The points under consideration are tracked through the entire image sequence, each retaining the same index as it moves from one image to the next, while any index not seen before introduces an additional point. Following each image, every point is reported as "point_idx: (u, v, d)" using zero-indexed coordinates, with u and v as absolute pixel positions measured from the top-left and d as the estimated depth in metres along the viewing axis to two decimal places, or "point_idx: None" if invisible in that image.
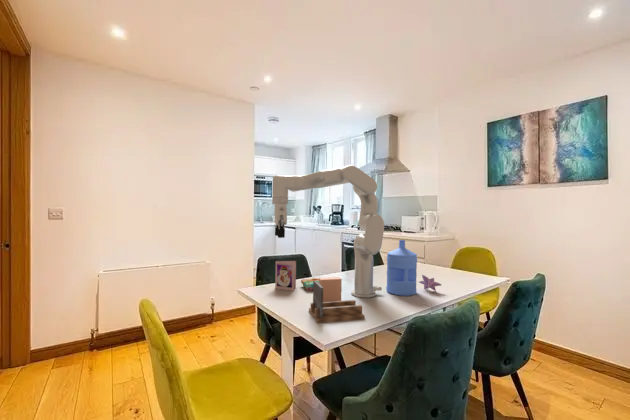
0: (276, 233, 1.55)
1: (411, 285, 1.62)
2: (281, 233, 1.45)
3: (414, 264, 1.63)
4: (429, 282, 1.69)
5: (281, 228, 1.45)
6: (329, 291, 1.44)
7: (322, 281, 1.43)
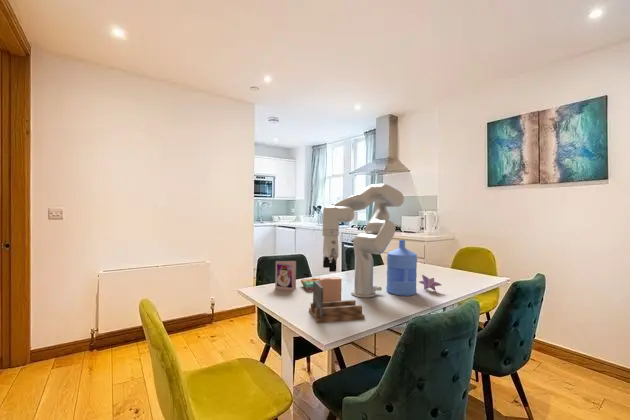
0: (324, 265, 1.50)
1: (411, 285, 1.62)
2: (333, 267, 1.40)
3: (414, 264, 1.63)
4: (429, 282, 1.69)
5: (333, 262, 1.40)
6: (329, 291, 1.44)
7: (322, 281, 1.43)
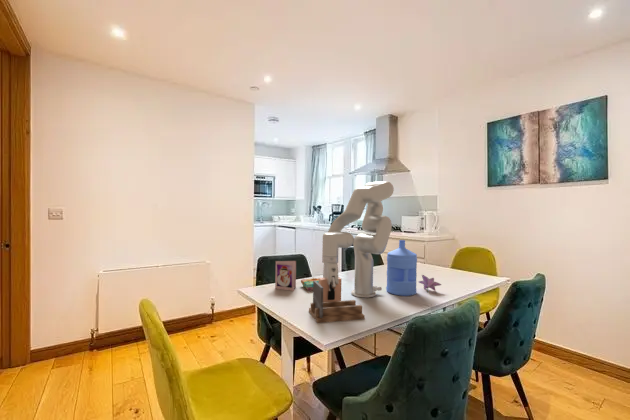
0: None
1: (411, 285, 1.62)
2: (331, 295, 1.43)
3: (414, 264, 1.63)
4: (429, 282, 1.70)
5: (332, 291, 1.43)
6: None
7: (322, 281, 1.43)
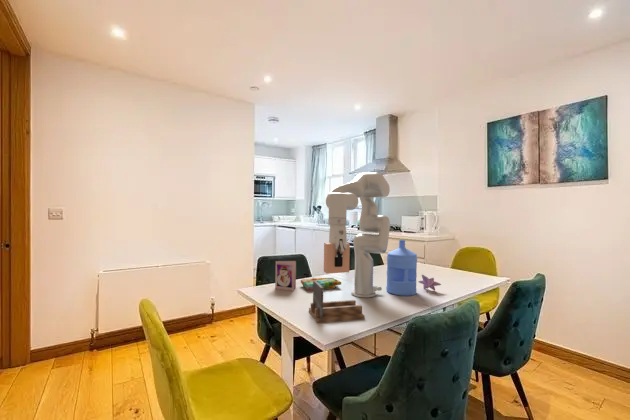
0: None
1: (411, 285, 1.62)
2: (339, 262, 1.28)
3: (414, 264, 1.63)
4: (429, 282, 1.70)
5: (339, 256, 1.28)
6: None
7: (328, 245, 1.28)
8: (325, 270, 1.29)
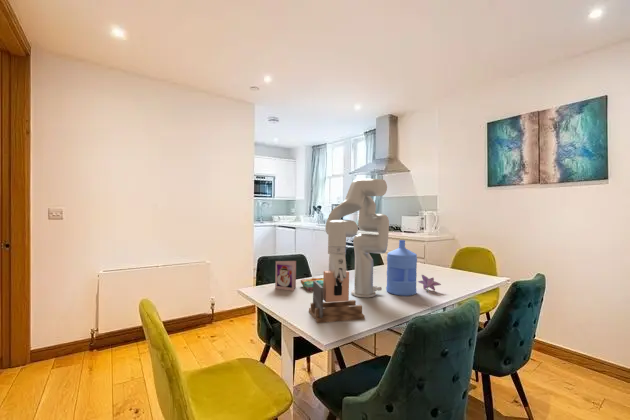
0: None
1: (411, 285, 1.62)
2: (338, 290, 1.28)
3: (414, 264, 1.63)
4: (428, 282, 1.70)
5: (338, 285, 1.28)
6: None
7: (327, 274, 1.28)
8: (324, 298, 1.29)
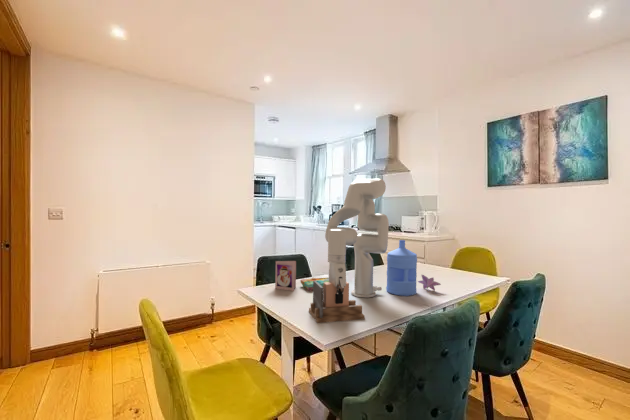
0: None
1: (411, 285, 1.62)
2: (339, 299, 1.27)
3: (414, 264, 1.63)
4: (428, 282, 1.70)
5: (340, 293, 1.26)
6: None
7: (327, 286, 1.29)
8: None
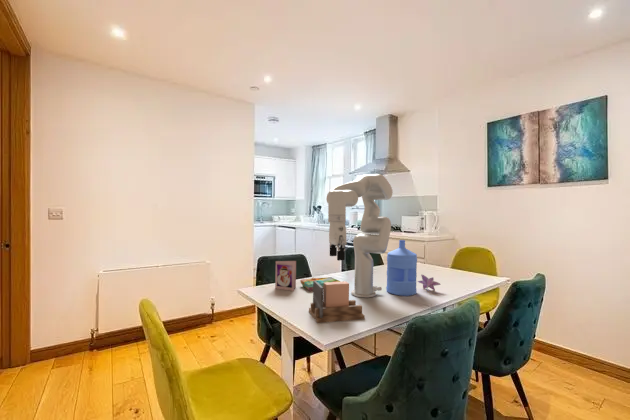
0: (331, 253, 1.40)
1: (411, 285, 1.62)
2: (341, 255, 1.30)
3: (414, 264, 1.63)
4: (428, 281, 1.70)
5: (341, 250, 1.30)
6: (336, 297, 1.29)
7: (328, 286, 1.28)
8: None
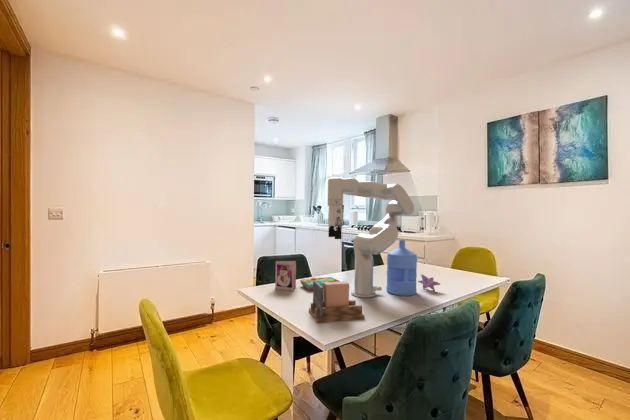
0: (330, 234, 1.57)
1: (411, 285, 1.62)
2: (338, 234, 1.47)
3: (414, 264, 1.63)
4: (428, 281, 1.71)
5: (338, 230, 1.47)
6: (336, 297, 1.29)
7: (328, 286, 1.28)
8: None
